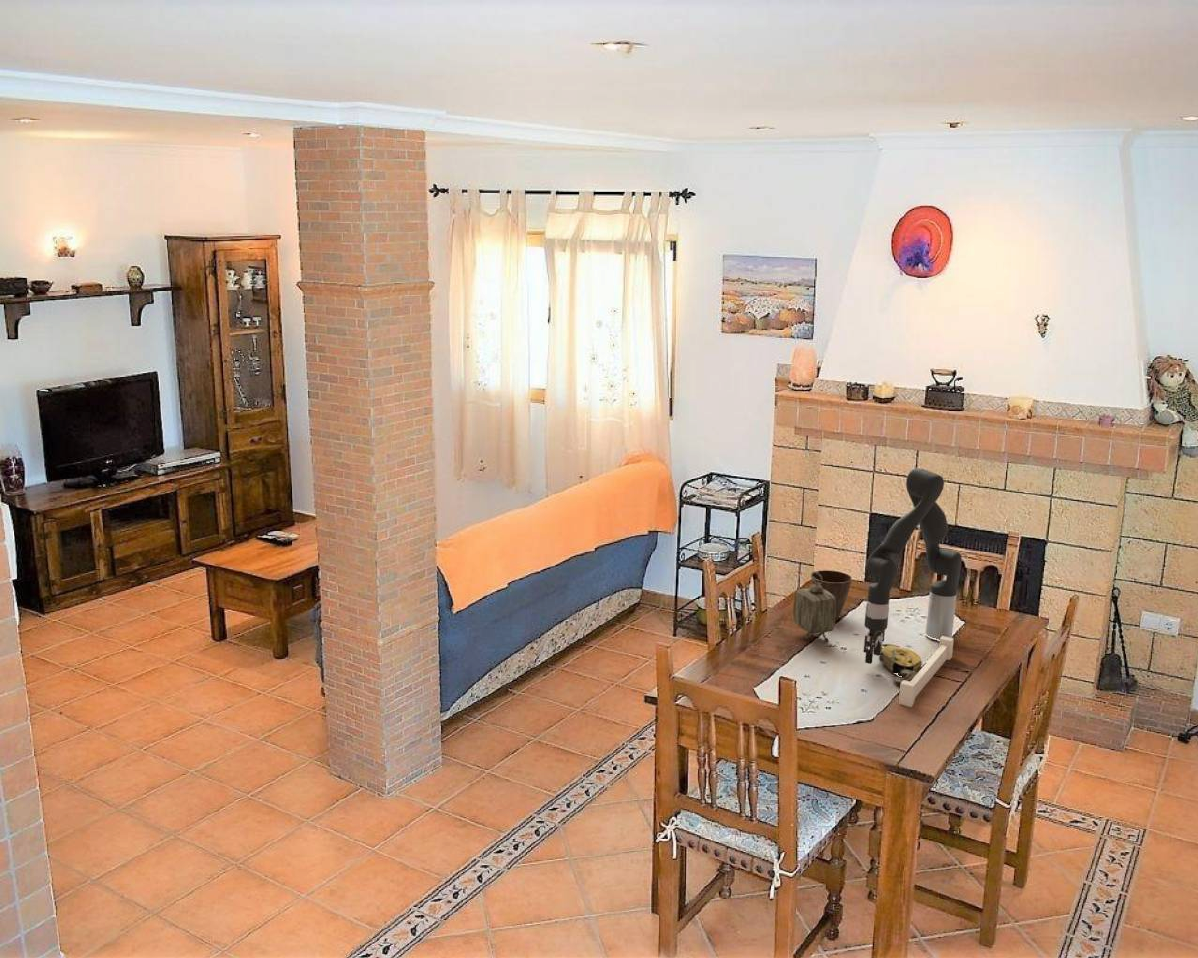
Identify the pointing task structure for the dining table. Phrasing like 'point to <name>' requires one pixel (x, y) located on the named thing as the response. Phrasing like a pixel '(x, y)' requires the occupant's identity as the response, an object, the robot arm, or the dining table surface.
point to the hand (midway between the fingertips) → (872, 658)
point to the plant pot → (835, 586)
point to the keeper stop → (925, 672)
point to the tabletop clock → (815, 609)
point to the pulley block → (900, 662)
